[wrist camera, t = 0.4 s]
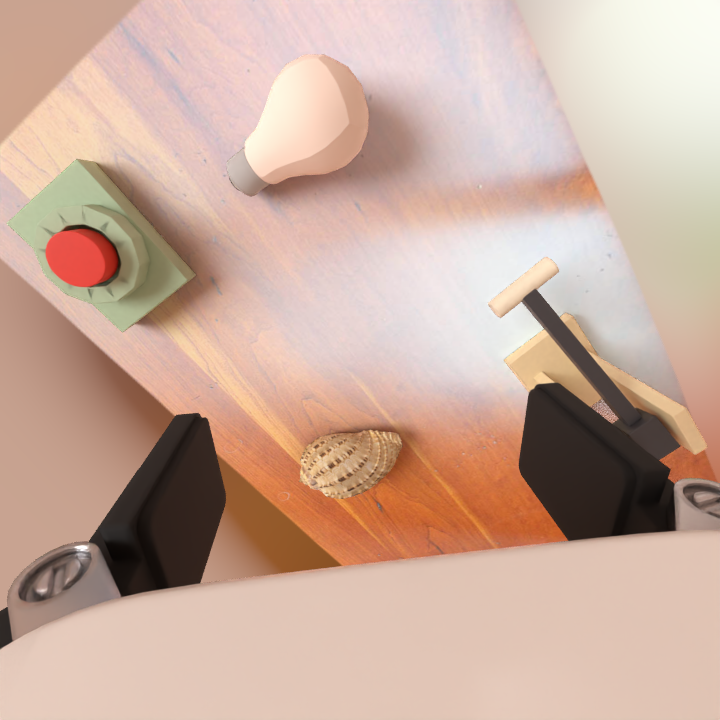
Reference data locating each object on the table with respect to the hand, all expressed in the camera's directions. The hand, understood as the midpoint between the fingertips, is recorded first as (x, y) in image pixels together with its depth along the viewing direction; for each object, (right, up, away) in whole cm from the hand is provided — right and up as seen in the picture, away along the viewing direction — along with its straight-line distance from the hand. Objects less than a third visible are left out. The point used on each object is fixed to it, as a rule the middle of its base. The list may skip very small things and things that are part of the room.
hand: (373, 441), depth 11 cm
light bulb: (-5, +18, +17) cm, 26 cm away
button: (-19, +10, +15) cm, 26 cm away
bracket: (+19, +1, +27) cm, 33 cm away
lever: (+16, +2, +18) cm, 24 cm away
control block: (-19, +11, +19) cm, 29 cm away
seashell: (-1, -7, +28) cm, 29 cm away
